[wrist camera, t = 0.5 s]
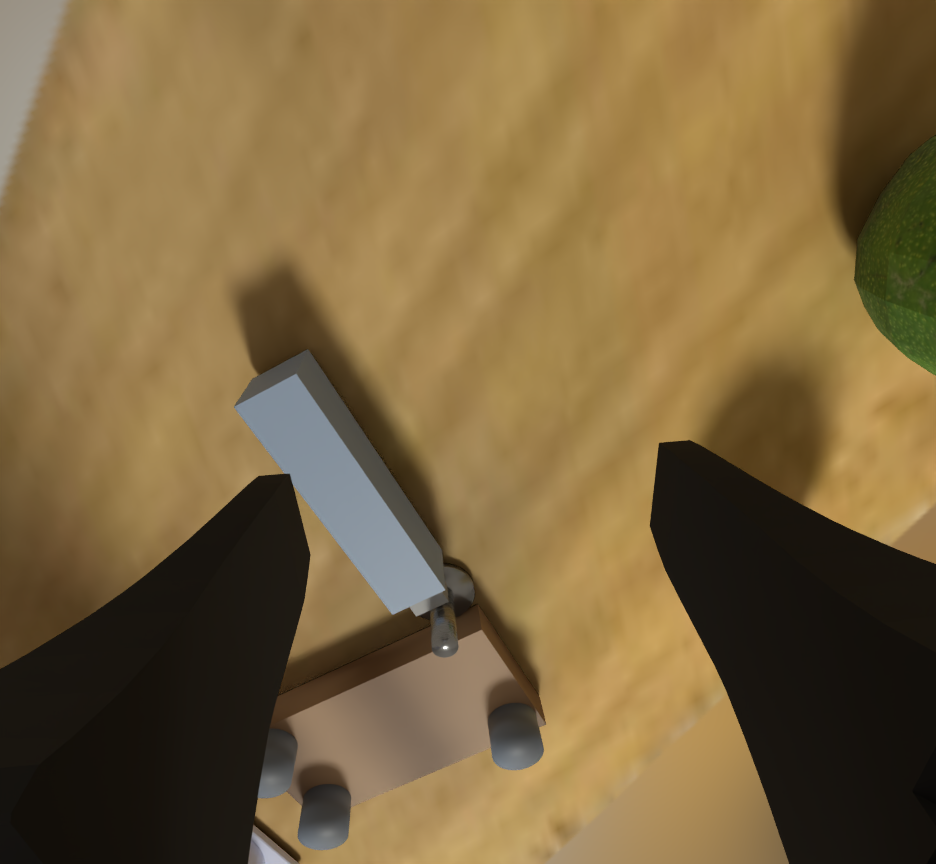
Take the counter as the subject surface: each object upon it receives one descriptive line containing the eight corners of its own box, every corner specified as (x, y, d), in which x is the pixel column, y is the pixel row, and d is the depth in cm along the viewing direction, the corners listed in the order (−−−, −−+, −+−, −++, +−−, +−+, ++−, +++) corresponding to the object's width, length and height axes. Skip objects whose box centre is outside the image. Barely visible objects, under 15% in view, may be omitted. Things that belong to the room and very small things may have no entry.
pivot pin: (427, 625, 26) (430, 685, 23) (395, 581, 25) (393, 638, 22) (485, 599, 26) (494, 656, 23) (454, 552, 25) (461, 607, 22)
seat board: (322, 790, 30) (313, 856, 27) (241, 712, 27) (223, 777, 24) (539, 696, 29) (553, 756, 26) (477, 604, 26) (486, 660, 23)
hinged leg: (454, 568, 25) (459, 610, 22) (407, 591, 25) (407, 633, 23) (307, 349, 20) (296, 374, 18) (252, 379, 20) (233, 406, 18)
